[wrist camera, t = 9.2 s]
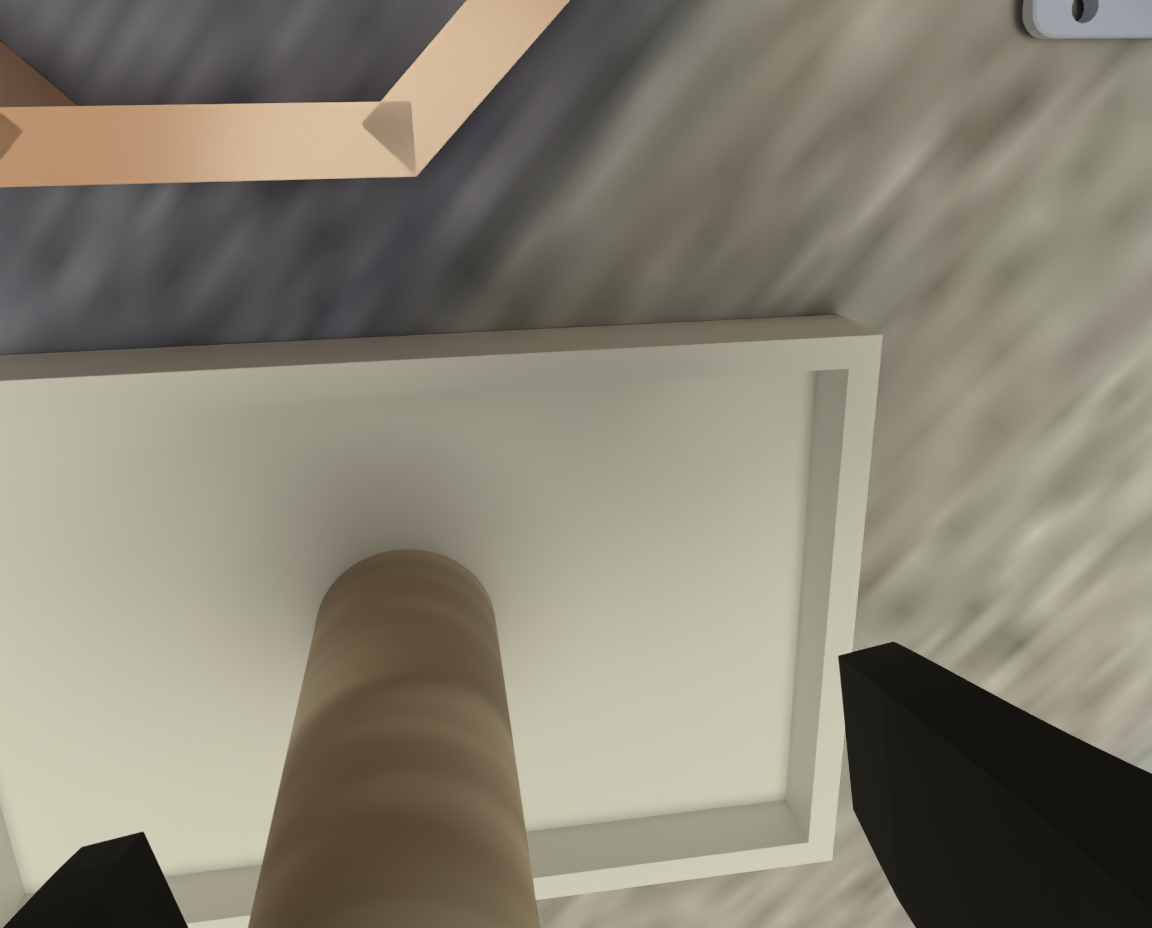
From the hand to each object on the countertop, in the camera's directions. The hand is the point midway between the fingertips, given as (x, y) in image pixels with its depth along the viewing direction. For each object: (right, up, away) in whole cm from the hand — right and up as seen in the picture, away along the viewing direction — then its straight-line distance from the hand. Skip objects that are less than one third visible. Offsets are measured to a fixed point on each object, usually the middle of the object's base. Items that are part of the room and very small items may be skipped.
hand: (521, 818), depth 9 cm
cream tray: (-3, 0, +10) cm, 10 cm away
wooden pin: (-3, 0, +9) cm, 10 cm away
